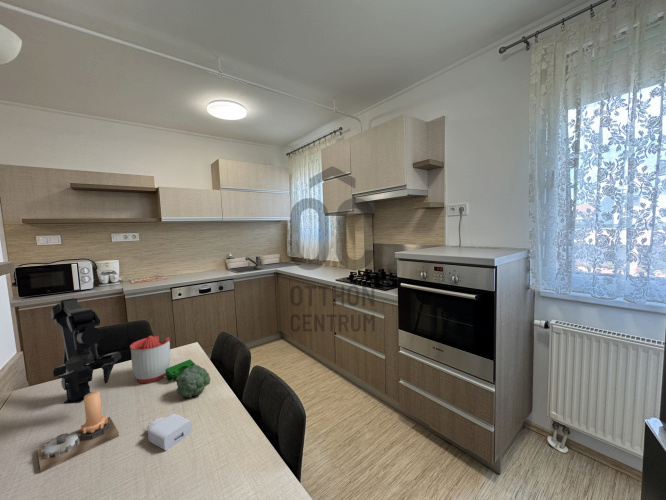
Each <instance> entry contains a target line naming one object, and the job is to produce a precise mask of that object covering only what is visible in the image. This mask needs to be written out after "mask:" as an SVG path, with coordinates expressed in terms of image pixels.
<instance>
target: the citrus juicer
mask: <svg viewBox="0 0 666 500" xmlns="http://www.w3.org/2000/svg"><path fill="white" fill-rule="evenodd" d="M170 340H171V338H170V337H169V336H167V337H165V339H164V341H162V340H160V337H159V335H156V336H155V335H154V336H153V335H149V336H148V337H146V338H142V339H139V340H136V341H134V342H132V343H131V344H130V345H129V349H130V353H131V355H130V357H131V358H130V359H131V366H132V367H131V368H132V372H133V375H134V377H135V379H136V380H137V381H138V382H139V383H140V384H148V383H155V382H158V381H159V380H161V379H163V378H164V377H165V373H166V369H167V368H169V367H170V364H171V343H170Z"/></svg>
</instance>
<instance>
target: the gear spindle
mask: <svg viewBox="0 0 666 500" xmlns="http://www.w3.org/2000/svg"><path fill="white" fill-rule="evenodd" d="M90 392H91V393H89V394H87V395H85V396H84V400H83V401H84V414H85V422H84V423H83V424H82V425H81V426H80V429H81V431H83V433H84V434H85V433H86V432H87V434H92V433H95V432H97V431H99V430H101V429H102V428H103V427H104V425H105V424H107V422H108V420H107V418H108V417H107V416H106V415H103V414H102V403H101V402H102V401H101V392H100V391H99V390H96V391H90Z"/></svg>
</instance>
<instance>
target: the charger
mask: <svg viewBox="0 0 666 500" xmlns="http://www.w3.org/2000/svg"><path fill="white" fill-rule="evenodd" d="M192 423H193V421H192V420H190V419H187V418H185V417H183V416H181V415H178V414H176V413H172V414H169V415H167V416H166V417H158V418H154V419H153V421H152V422H151V421H149V422H148V424H149V425H148V426H147V428H146V429H147V436H148V442H149V443H152V444H153V445H155V446H157V447H158V448H160V449H162V450H164V451H168V450H169V449H171V448H173V447H174V446H176V445H177V444H178V443H180V442H181V441H182V440H184V439H185V438H186V437H187V436H189V435H190V434H192V432H193V424H192Z"/></svg>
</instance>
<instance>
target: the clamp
mask: <svg viewBox="0 0 666 500" xmlns="http://www.w3.org/2000/svg"><path fill="white" fill-rule="evenodd" d="M192 365H196V363H195V362H194V361H193V360H192V359H187V360H185V361H182V362H180V363H177V364H174V365H172V366H169V368H167V369H166V373H165V379H166V380H167V381H168V382H170V381H172V380H174V379H175V380H177V377H178V376H179V375H180V374H181V373H182V371H183V370H184V369H186V368H188V367H190V366H192Z"/></svg>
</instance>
